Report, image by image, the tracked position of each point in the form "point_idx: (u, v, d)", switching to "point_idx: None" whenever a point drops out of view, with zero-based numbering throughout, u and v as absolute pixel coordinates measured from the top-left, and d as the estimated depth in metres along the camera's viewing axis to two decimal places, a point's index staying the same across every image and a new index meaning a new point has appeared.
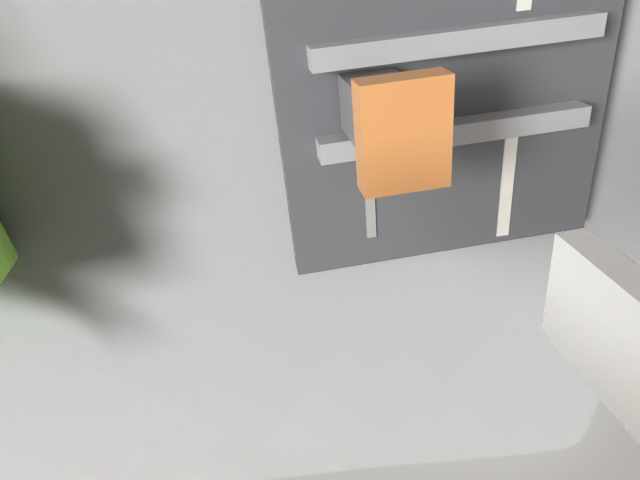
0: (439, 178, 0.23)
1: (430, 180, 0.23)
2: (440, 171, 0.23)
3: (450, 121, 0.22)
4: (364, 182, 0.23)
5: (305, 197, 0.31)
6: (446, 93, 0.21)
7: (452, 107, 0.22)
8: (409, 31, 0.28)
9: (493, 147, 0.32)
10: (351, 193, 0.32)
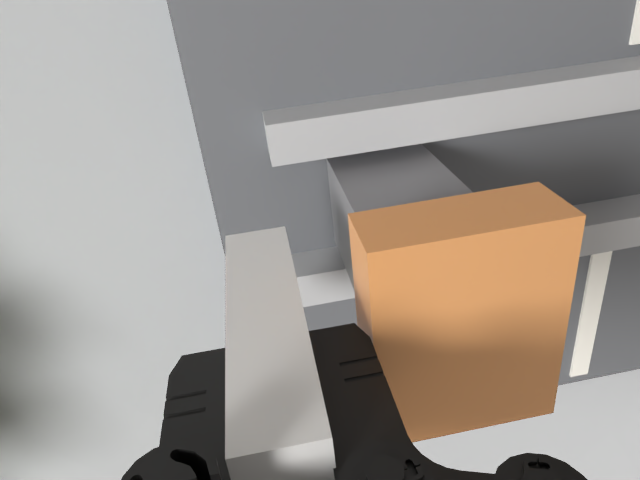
0: (531, 402, 0.11)
1: (513, 406, 0.11)
2: (535, 391, 0.11)
3: (565, 305, 0.10)
4: None
5: None
6: (562, 254, 0.09)
7: (572, 276, 0.10)
8: (444, 83, 0.16)
9: None
10: None
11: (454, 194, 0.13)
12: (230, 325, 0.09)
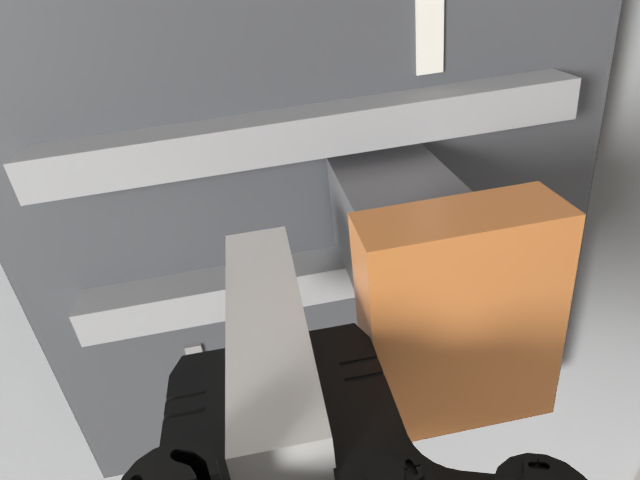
0: (531, 401, 0.11)
1: (513, 406, 0.11)
2: (534, 390, 0.11)
3: (565, 304, 0.10)
4: None
5: (88, 376, 0.19)
6: (562, 253, 0.09)
7: (572, 275, 0.10)
8: (219, 116, 0.15)
9: None
10: (167, 366, 0.19)
11: (454, 193, 0.13)
12: (230, 325, 0.09)
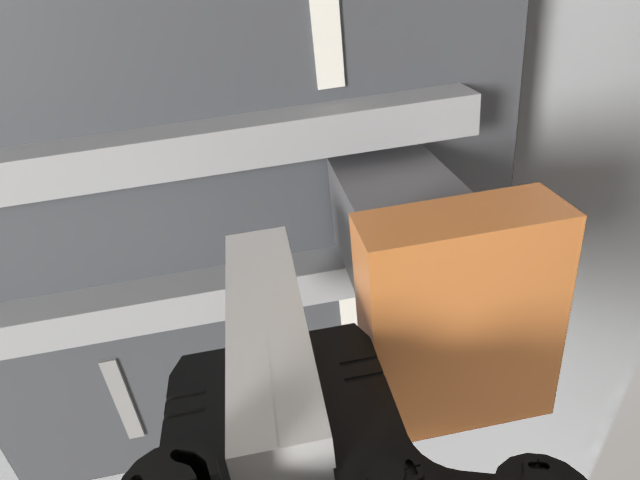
0: (531, 402, 0.11)
1: (513, 407, 0.11)
2: (534, 391, 0.11)
3: (565, 305, 0.10)
4: None
5: (0, 391, 0.18)
6: (563, 254, 0.09)
7: (572, 276, 0.10)
8: (113, 130, 0.15)
9: None
10: (82, 381, 0.19)
11: (454, 194, 0.13)
12: (230, 325, 0.09)
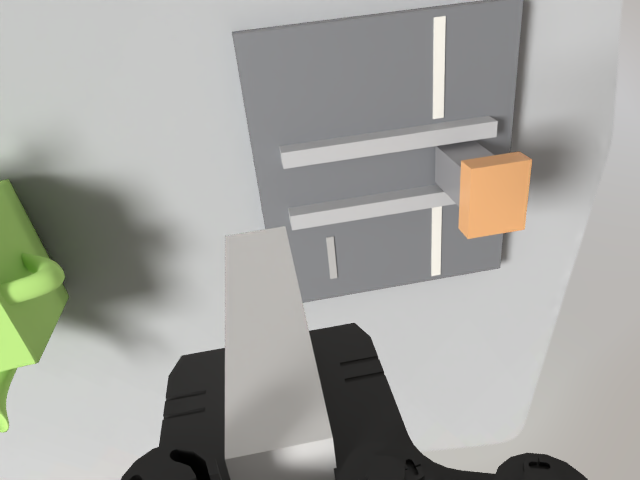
0: (517, 224, 0.34)
1: (511, 225, 0.34)
2: (518, 220, 0.34)
3: (527, 188, 0.33)
4: (468, 228, 0.34)
5: None
6: (525, 171, 0.33)
7: (529, 179, 0.33)
8: (354, 134, 0.38)
9: (423, 211, 0.42)
10: (316, 247, 0.42)
11: None
12: (230, 325, 0.09)
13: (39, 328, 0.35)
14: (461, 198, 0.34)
